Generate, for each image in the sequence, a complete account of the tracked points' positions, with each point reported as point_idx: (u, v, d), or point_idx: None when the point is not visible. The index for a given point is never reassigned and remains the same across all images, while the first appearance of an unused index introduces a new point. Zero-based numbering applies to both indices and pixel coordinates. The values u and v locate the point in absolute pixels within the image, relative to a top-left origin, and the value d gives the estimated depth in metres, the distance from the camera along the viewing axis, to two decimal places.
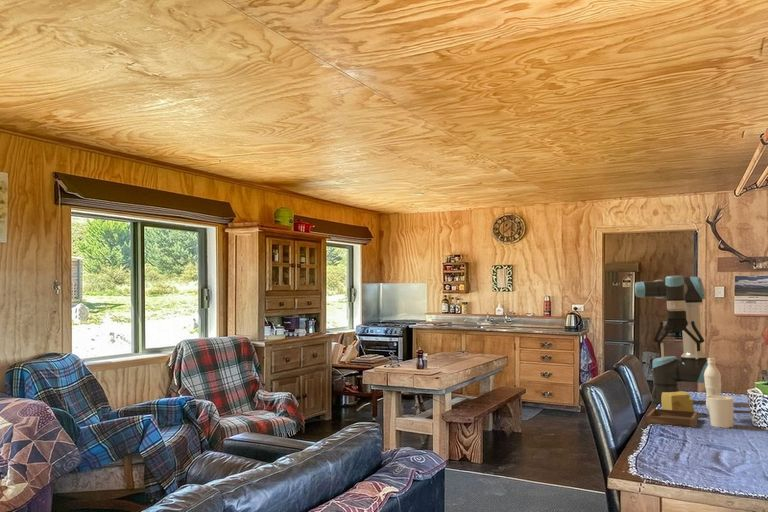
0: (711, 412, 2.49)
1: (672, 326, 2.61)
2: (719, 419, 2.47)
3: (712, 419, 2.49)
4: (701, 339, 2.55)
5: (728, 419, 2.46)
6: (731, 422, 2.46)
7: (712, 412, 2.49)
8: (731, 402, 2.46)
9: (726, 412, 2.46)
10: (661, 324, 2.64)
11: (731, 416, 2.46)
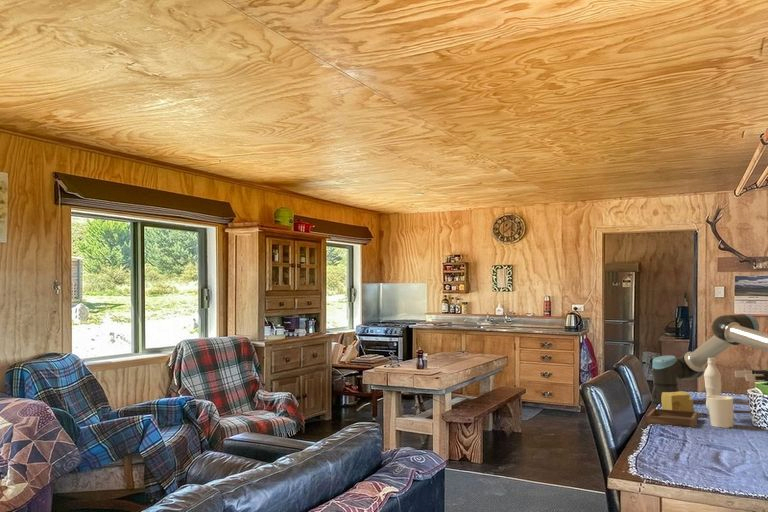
0: (711, 412, 2.49)
1: None
2: (719, 419, 2.47)
3: (712, 419, 2.49)
4: None
5: (728, 419, 2.46)
6: (731, 422, 2.46)
7: (712, 412, 2.49)
8: (731, 402, 2.46)
9: (726, 412, 2.46)
10: None
11: (731, 416, 2.46)
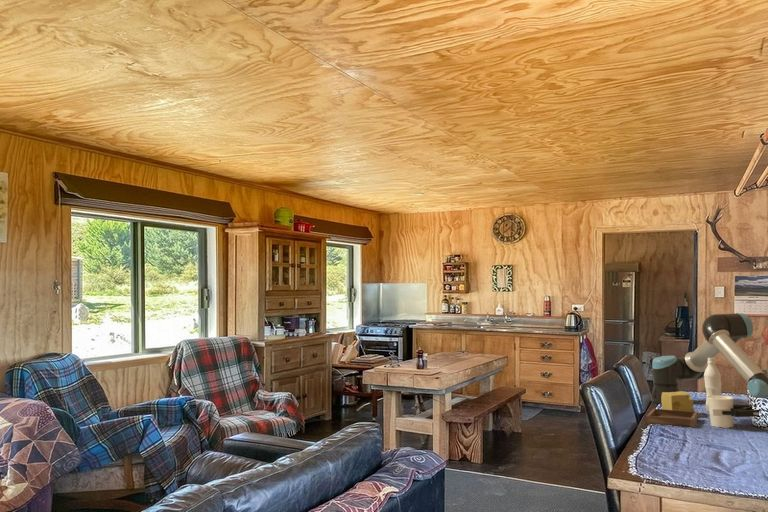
0: (711, 412, 2.50)
1: None
2: (719, 419, 2.47)
3: (712, 419, 2.49)
4: None
5: (728, 419, 2.46)
6: (731, 422, 2.46)
7: (712, 412, 2.49)
8: (731, 402, 2.46)
9: None
10: None
11: (731, 416, 2.46)
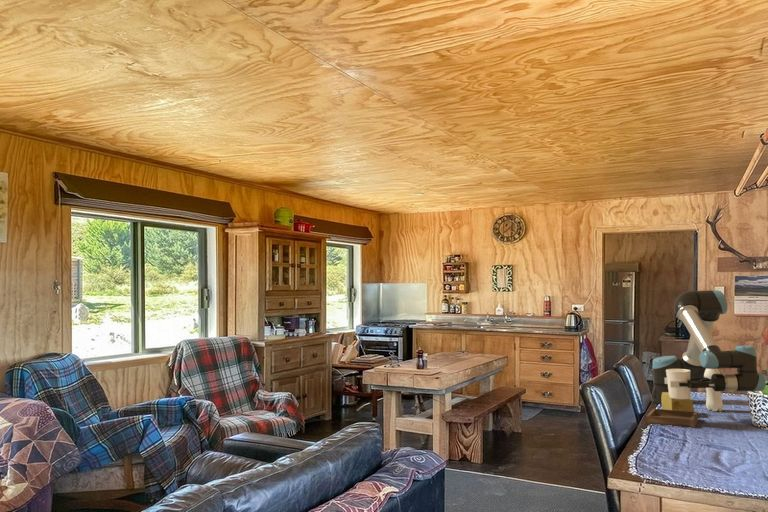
0: (669, 384, 2.58)
1: None
2: (676, 391, 2.55)
3: (670, 391, 2.58)
4: None
5: (685, 391, 2.54)
6: (688, 393, 2.55)
7: None
8: (688, 374, 2.55)
9: None
10: (710, 387, 2.50)
11: (688, 388, 2.55)
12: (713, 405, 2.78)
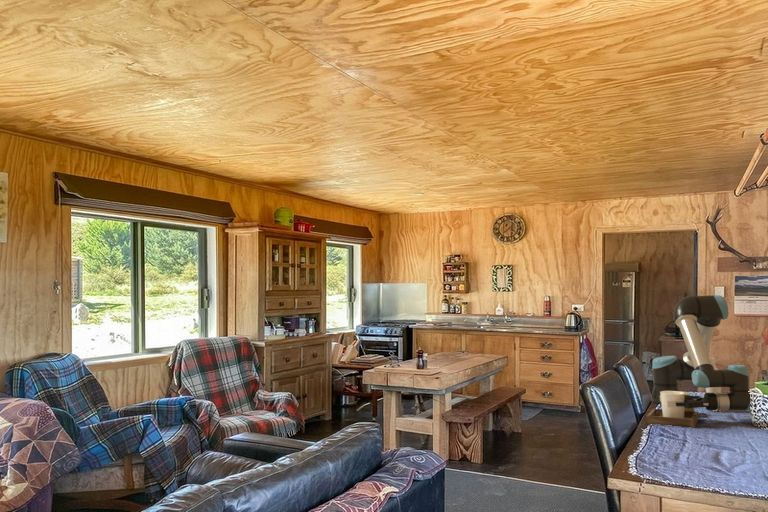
0: (663, 407, 2.59)
1: None
2: (670, 413, 2.56)
3: (664, 413, 2.58)
4: None
5: (679, 413, 2.55)
6: (682, 416, 2.55)
7: (664, 407, 2.58)
8: (682, 397, 2.56)
9: (677, 407, 2.55)
10: None
11: (682, 410, 2.55)
12: None
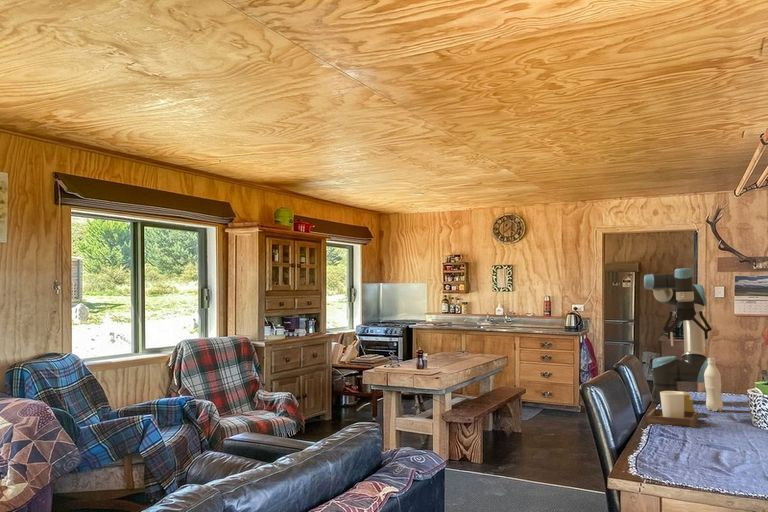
0: (663, 407, 2.59)
1: (681, 316, 2.76)
2: (670, 413, 2.56)
3: (664, 414, 2.58)
4: (709, 328, 2.70)
5: (679, 413, 2.55)
6: (682, 416, 2.55)
7: (664, 407, 2.58)
8: (682, 397, 2.56)
9: (677, 407, 2.55)
10: (670, 314, 2.79)
11: (682, 410, 2.55)
12: (713, 405, 2.78)
